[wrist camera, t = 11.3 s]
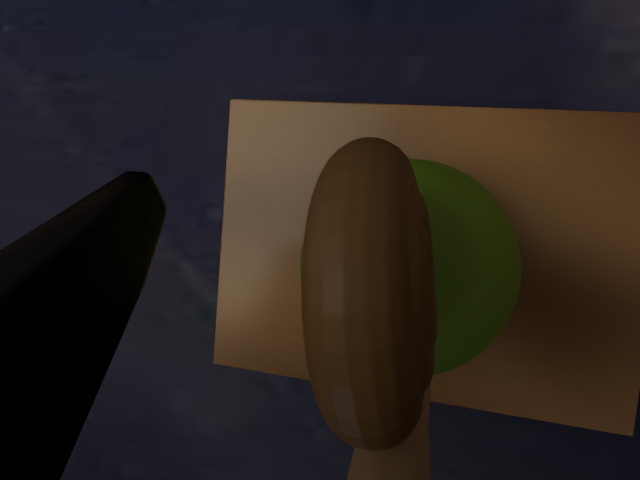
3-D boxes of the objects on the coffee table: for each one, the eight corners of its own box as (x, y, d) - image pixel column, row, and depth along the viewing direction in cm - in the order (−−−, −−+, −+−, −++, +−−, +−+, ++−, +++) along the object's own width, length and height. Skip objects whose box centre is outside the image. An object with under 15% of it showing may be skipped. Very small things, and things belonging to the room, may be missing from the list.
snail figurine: (338, 376, 16) (64, 778, 5) (321, 177, 16) (-13, 102, 5) (517, 375, 15) (731, 939, 3) (501, 157, 15) (673, -23, 3)
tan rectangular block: (588, 379, 19) (633, 437, 14) (264, 330, 22) (212, 364, 18) (619, 137, 18) (678, 113, 14) (279, 122, 22) (229, 98, 17)
